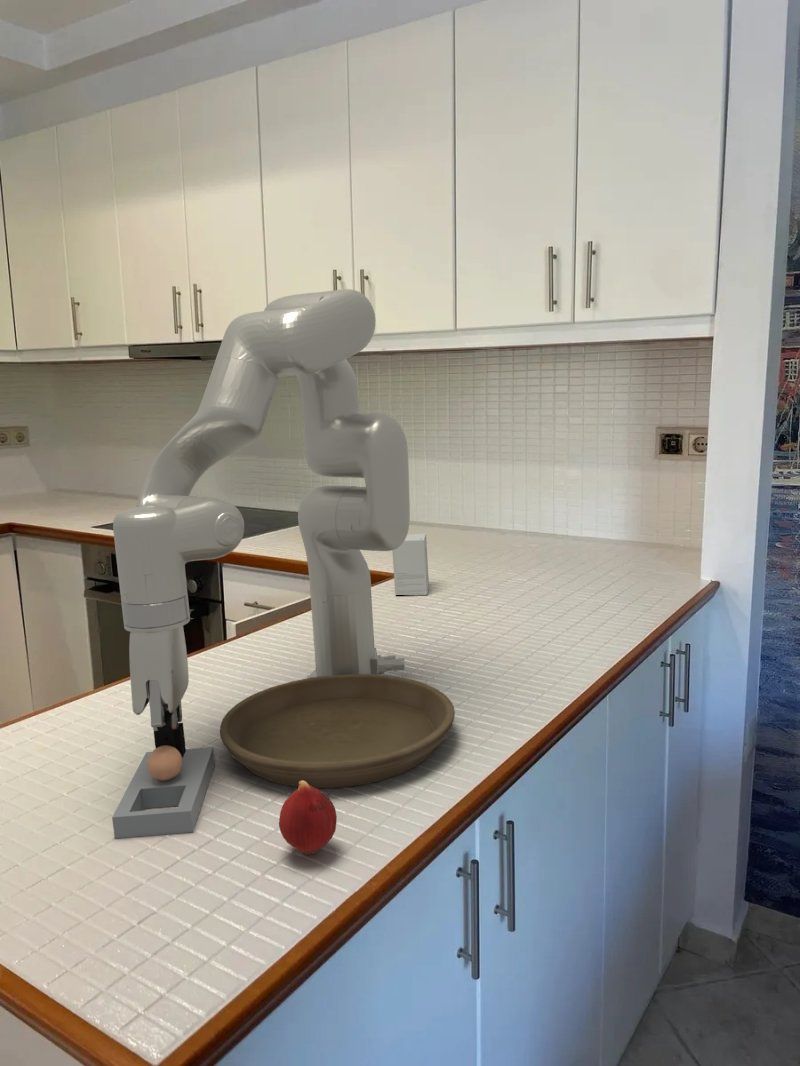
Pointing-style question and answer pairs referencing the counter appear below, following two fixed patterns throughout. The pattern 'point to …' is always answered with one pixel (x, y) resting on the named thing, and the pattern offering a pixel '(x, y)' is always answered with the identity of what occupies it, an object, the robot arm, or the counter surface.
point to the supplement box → (411, 566)
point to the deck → (165, 798)
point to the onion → (307, 819)
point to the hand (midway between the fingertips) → (171, 756)
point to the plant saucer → (337, 729)
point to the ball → (164, 763)
